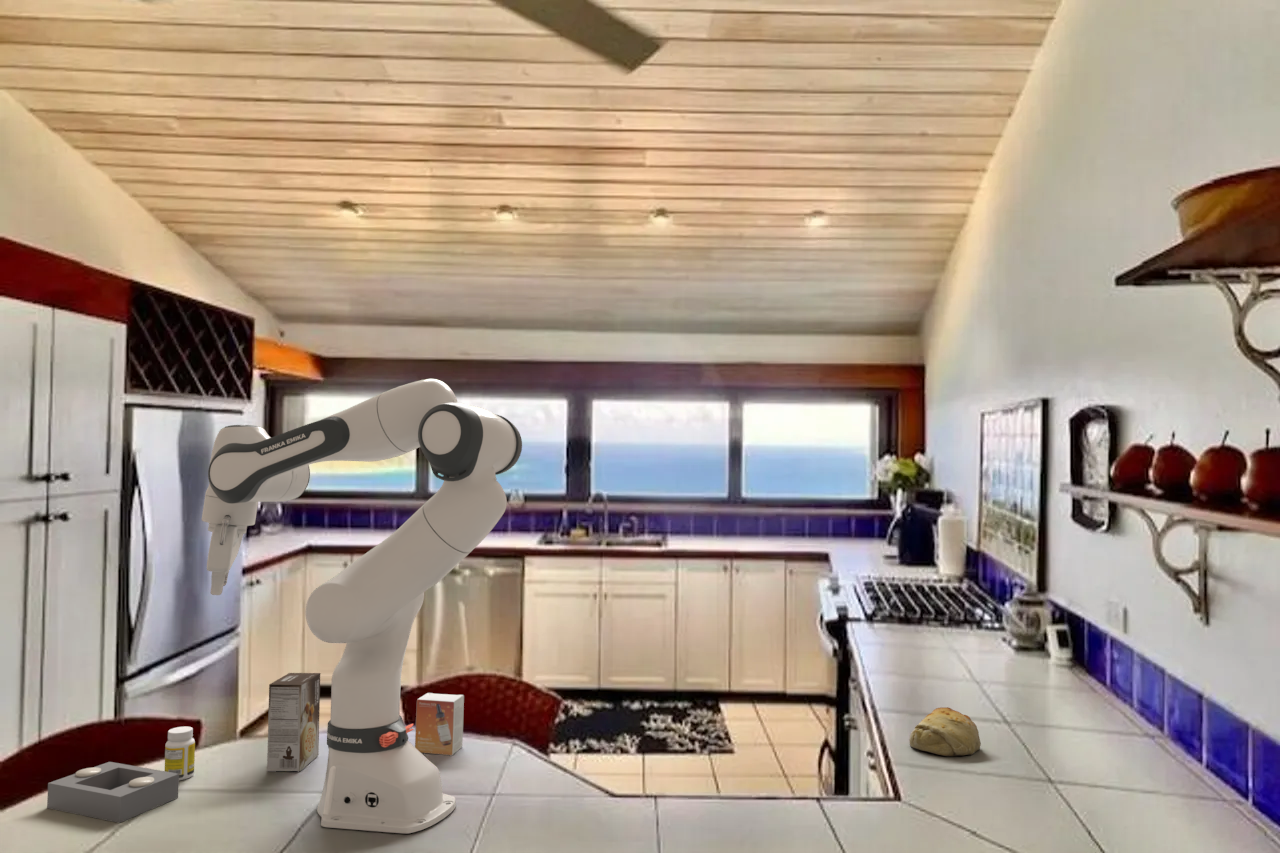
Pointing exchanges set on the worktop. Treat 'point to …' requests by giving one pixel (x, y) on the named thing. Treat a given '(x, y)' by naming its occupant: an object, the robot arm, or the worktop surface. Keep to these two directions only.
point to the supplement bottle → (180, 752)
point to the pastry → (946, 733)
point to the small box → (439, 723)
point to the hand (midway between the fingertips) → (218, 589)
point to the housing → (113, 791)
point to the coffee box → (293, 721)
